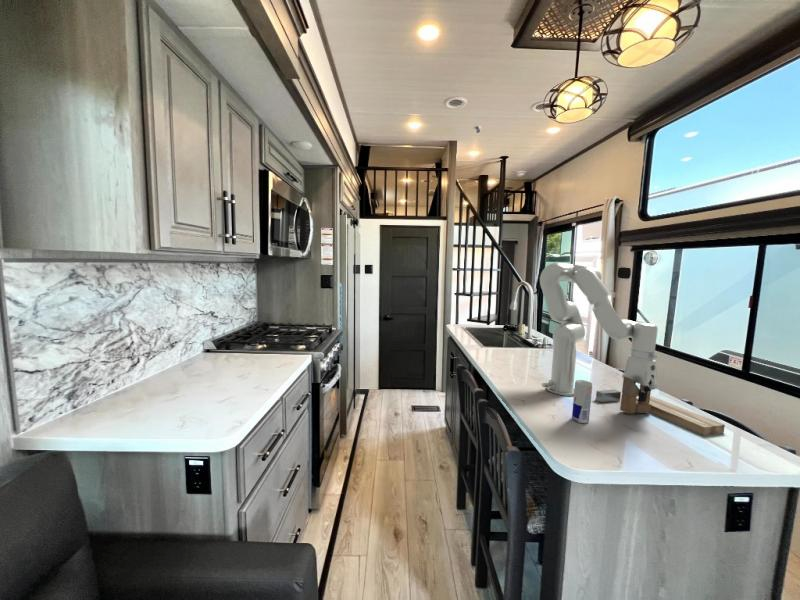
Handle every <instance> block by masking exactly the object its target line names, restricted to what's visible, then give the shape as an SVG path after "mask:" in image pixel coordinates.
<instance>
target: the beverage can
mask: <svg viewBox="0 0 800 600" xmlns="http://www.w3.org/2000/svg"><path fill="white" fill-rule="evenodd" d="M592 391H593V382H591V381H588V380H584V379H576V380H575V381H574V396H573V399H572V400H573V401H572V414H571V419H572V420H573V421H575V422H576V423H580V424H588V423H589V422H590V412H591V403H592Z"/></svg>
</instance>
